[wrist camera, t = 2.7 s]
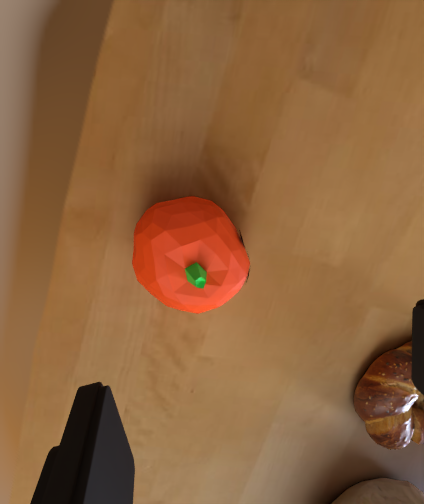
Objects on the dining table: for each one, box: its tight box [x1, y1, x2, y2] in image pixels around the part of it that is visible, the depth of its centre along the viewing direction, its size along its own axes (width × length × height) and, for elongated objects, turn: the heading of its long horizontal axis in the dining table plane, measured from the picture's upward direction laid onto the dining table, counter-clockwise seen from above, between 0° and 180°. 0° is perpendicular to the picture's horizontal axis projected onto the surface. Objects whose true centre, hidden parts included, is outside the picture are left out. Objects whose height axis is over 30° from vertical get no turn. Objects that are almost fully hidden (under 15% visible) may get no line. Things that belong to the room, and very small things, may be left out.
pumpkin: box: [132, 196, 250, 314], centre depth 21 cm, size 7×8×6 cm
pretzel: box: [354, 341, 424, 450], centre depth 30 cm, size 12×11×4 cm
